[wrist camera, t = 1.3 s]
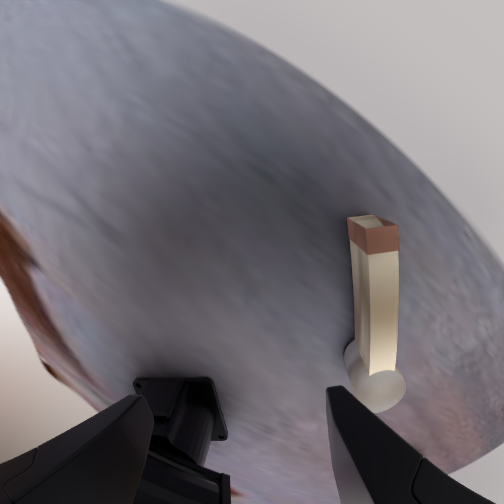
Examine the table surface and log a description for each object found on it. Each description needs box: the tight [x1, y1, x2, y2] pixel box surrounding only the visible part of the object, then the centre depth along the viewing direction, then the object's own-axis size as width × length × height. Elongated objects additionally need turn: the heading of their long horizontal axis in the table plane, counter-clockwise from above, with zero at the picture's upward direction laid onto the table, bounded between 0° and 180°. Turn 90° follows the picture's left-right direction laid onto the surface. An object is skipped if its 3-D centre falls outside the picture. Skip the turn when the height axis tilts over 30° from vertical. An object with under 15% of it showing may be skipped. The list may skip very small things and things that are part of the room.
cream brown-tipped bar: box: [344, 215, 406, 413], centre depth 16 cm, size 11×3×4 cm, turn 9°
